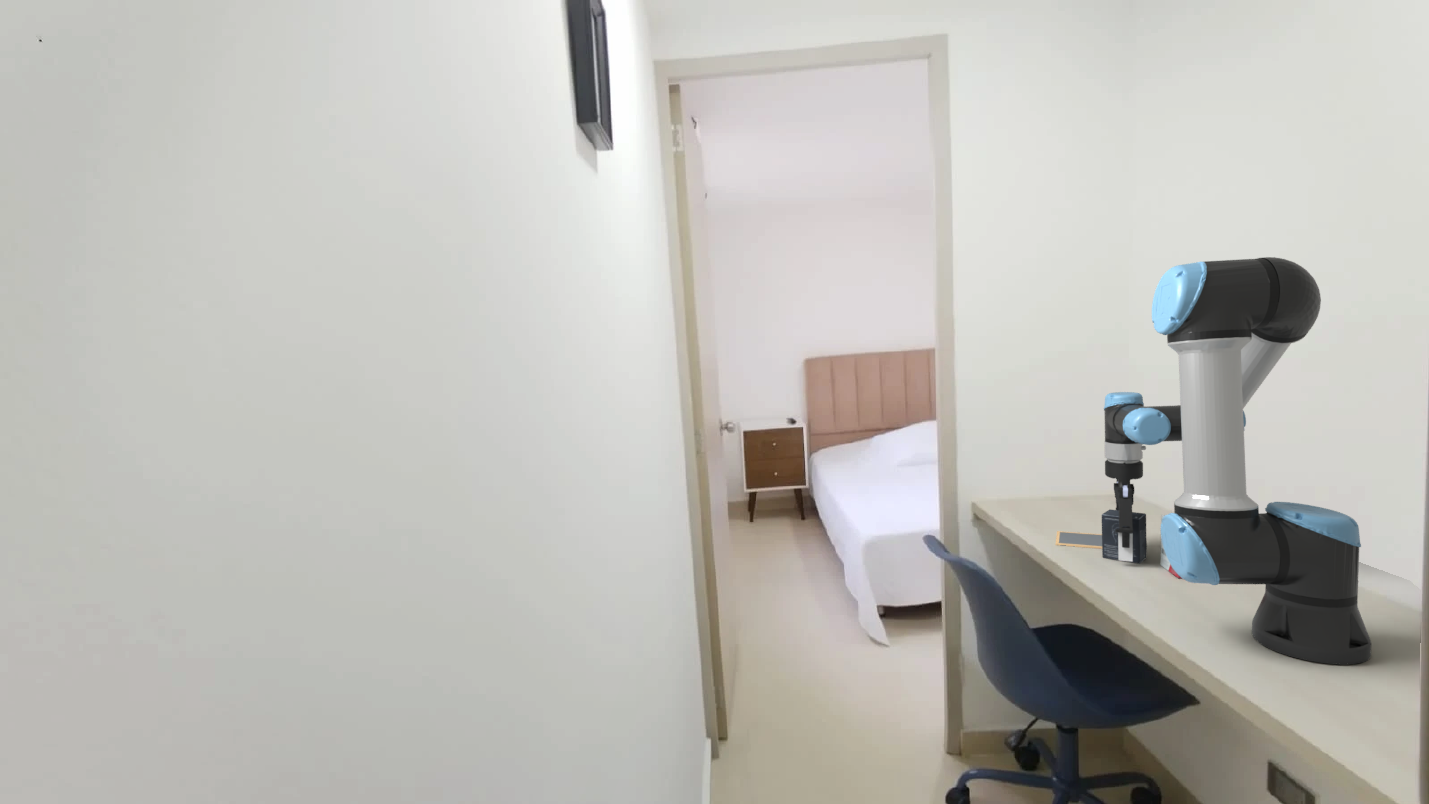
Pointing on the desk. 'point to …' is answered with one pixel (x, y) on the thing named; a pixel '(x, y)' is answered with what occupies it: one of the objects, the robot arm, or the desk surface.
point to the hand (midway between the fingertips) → (1124, 552)
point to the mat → (1079, 539)
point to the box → (1111, 537)
